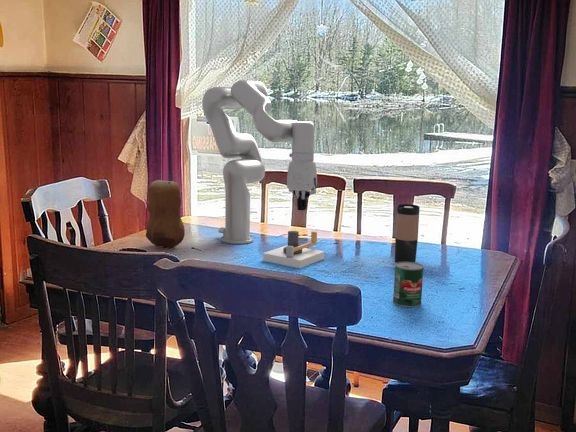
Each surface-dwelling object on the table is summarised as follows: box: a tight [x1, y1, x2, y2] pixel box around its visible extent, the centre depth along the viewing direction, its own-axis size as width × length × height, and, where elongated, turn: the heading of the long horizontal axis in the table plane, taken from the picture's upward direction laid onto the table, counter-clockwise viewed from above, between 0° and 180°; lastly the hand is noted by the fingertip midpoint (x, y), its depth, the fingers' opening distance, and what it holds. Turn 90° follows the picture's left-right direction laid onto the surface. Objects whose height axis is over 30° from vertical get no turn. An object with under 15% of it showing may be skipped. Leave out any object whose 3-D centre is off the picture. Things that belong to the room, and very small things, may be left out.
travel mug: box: [394, 203, 420, 264], centre depth 218 cm, size 8×8×20 cm
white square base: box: [262, 244, 325, 269], centre depth 214 cm, size 15×15×4 cm
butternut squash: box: [145, 179, 186, 249], centre depth 230 cm, size 14×13×25 cm
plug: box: [283, 230, 302, 255], centre depth 214 cm, size 6×6×10 cm
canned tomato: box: [392, 262, 425, 308], centre depth 176 cm, size 8×8×11 cm
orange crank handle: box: [285, 230, 318, 257], centre depth 213 cm, size 2×17×6 cm, turn 146°
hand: (301, 209), depth 221 cm, fingers closed
